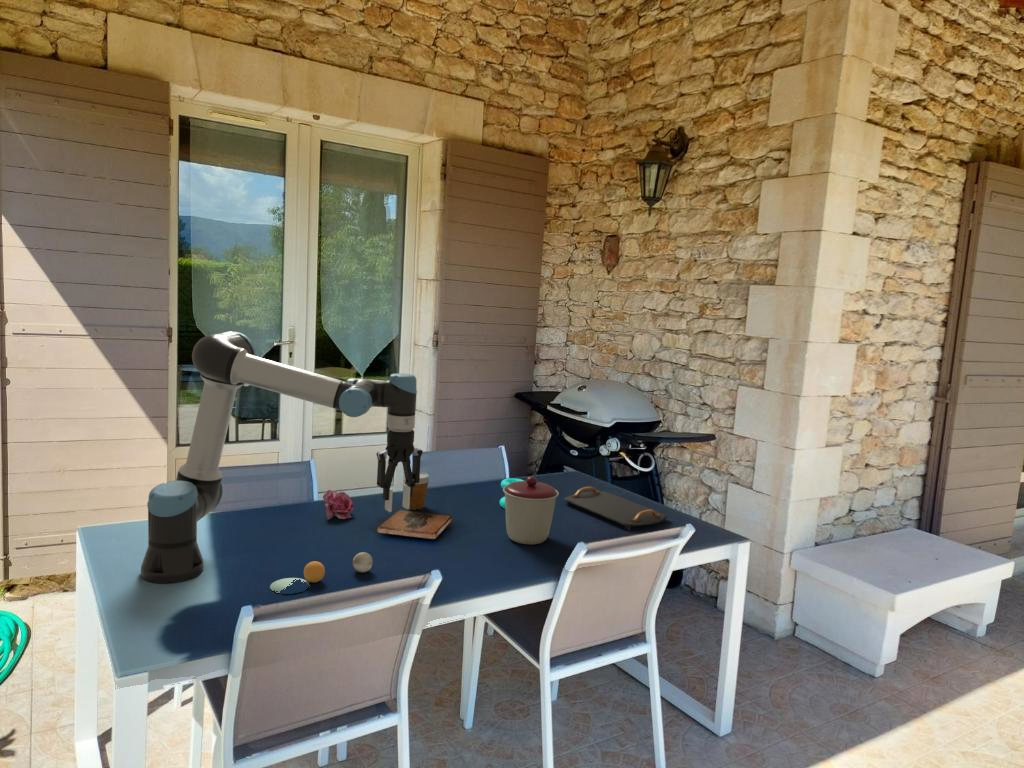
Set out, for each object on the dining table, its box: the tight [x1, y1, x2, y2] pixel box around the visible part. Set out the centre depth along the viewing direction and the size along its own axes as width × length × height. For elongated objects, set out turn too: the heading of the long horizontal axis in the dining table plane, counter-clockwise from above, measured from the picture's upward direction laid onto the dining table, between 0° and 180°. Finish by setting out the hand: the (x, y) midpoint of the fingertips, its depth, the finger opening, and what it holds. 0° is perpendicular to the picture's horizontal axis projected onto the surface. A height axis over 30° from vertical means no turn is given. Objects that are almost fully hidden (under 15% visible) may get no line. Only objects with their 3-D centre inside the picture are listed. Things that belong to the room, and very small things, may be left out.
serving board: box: [563, 486, 668, 530], centre depth 267 cm, size 39×23×6 cm, turn 38°
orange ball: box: [303, 560, 326, 583], centre depth 190 cm, size 6×6×6 cm
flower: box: [322, 489, 355, 521], centre depth 243 cm, size 11×10×10 cm
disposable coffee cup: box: [402, 471, 431, 511], centre depth 257 cm, size 10×10×12 cm
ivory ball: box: [352, 551, 374, 573], centre depth 199 cm, size 6×6×6 cm
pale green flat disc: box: [269, 577, 311, 594], centre depth 187 cm, size 10×10×1 cm
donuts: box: [499, 477, 525, 510], centre depth 265 cm, size 10×10×10 cm
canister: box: [502, 476, 560, 546], centre depth 232 cm, size 18×18×21 cm
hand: (397, 509), depth 203 cm, fingers open, 5 cm apart
